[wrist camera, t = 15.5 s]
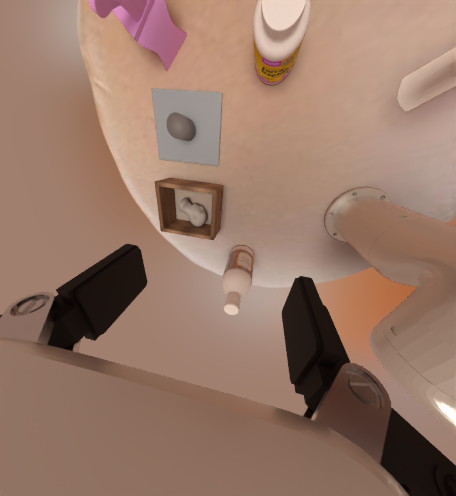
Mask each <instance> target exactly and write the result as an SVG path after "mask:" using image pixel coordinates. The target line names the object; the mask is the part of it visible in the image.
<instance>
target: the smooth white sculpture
mask: <svg viewBox="0 0 456 496" xmlns="http://www.w3.org/2000/svg"><path fill="white" fill-rule="evenodd" d="M179 208H180V211H183V212H184V213H186V214H187V215H188V216H189V219H190V221H191V223H192V224H193V225H194V226H197V227H199V226H202V225H203V224H204V223H205V222H206V218H207V215H206V212H205V210H204V208H203V206H199V205H197V204H196V203H195V204H193V205H191V203H190V202H189V201H188V199H186V198H184V199H183V200H182V201H181V203H180V204H179Z"/></svg>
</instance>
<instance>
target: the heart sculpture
mask: <svg viewBox="0 0 456 496" xmlns="http://www.w3.org/2000/svg"><path fill="white" fill-rule="evenodd" d="M455 86H456V47H454V48H453V49H451V50H449V51H448V52H446V53H444V54H443V55H441V56H439V57H438V58H436V59H434V60H432V61H431V62H429V63H427V64H426V65H424V66H422V67H421V68H419V69H417V70H416V71H414V72H412V73H411V74H409V75H407V76H406V77H404V78H403V80H402V82H401V85H400V88H399V91H398V96H397V101H398V103H399V105H400V106H401V108H402V109H403V110H404V111H406V112H407V111H409V110H411V109H413V108H415V107H417V106H419V105H420V104H422V103H424V102H426V101H428V100H430V99H432V98H434V97H436V96H438V95H439V94H441V93H443V92H445V91H447V90H449V89H451V88H453V87H455Z"/></svg>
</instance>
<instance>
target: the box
mask: <svg viewBox="0 0 456 496" xmlns="http://www.w3.org/2000/svg"><path fill="white" fill-rule="evenodd" d="M155 188H156V196H157V204H158V212H159V220H160V228H161V231H164V232H169V233H175V234H181V235H187V236H193V237H198V238H204V239H210V240H214V239H215V237H216V235H217V233H218V232H219V230H220V222H221V210H222V197H223V185H219V184H212V183H205V182H197V181H190V180H182V179H175V178H168V179H164V180H160V181H155ZM174 188H176V189H183V190H190V191H197V192H204V193H211V194H213V196H212V217H211V225H209V224H203V225H202V226H199V227H197V226H194V225H193V224H192V223H191V221H185V220H178V219H176V207H175V193H174Z"/></svg>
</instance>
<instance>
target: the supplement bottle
mask: <svg viewBox="0 0 456 496" xmlns="http://www.w3.org/2000/svg"><path fill="white" fill-rule="evenodd" d="M309 17H310V0H258V3H257V6H256V10H255V14H254V22H253V34H254V55H255V68H256V72H257V74H258V76H259V78H260V79H261V80H262V81H263V82H264V83H266V84H269V85H273V84H277V83H279V82H281V81H282V80H283V79H285V77H286V76H287V75H288V74H289V72H290V71H291V69H292V67H293V64H294V62H295V59H296V56H297V54H298V51H299V48H300V46H301V43H302V40H303V37H304V35H305V32H306V29H307V26H308V22H309Z"/></svg>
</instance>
